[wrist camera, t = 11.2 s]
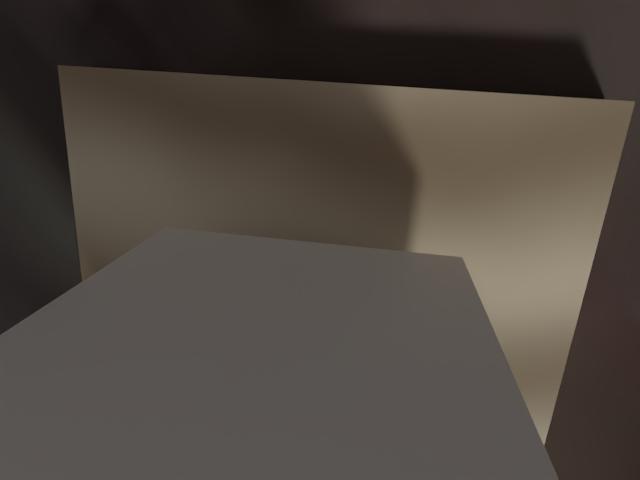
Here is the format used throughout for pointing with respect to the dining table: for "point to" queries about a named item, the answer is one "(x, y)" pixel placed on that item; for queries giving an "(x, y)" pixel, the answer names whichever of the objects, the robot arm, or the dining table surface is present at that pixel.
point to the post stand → (359, 182)
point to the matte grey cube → (264, 370)
